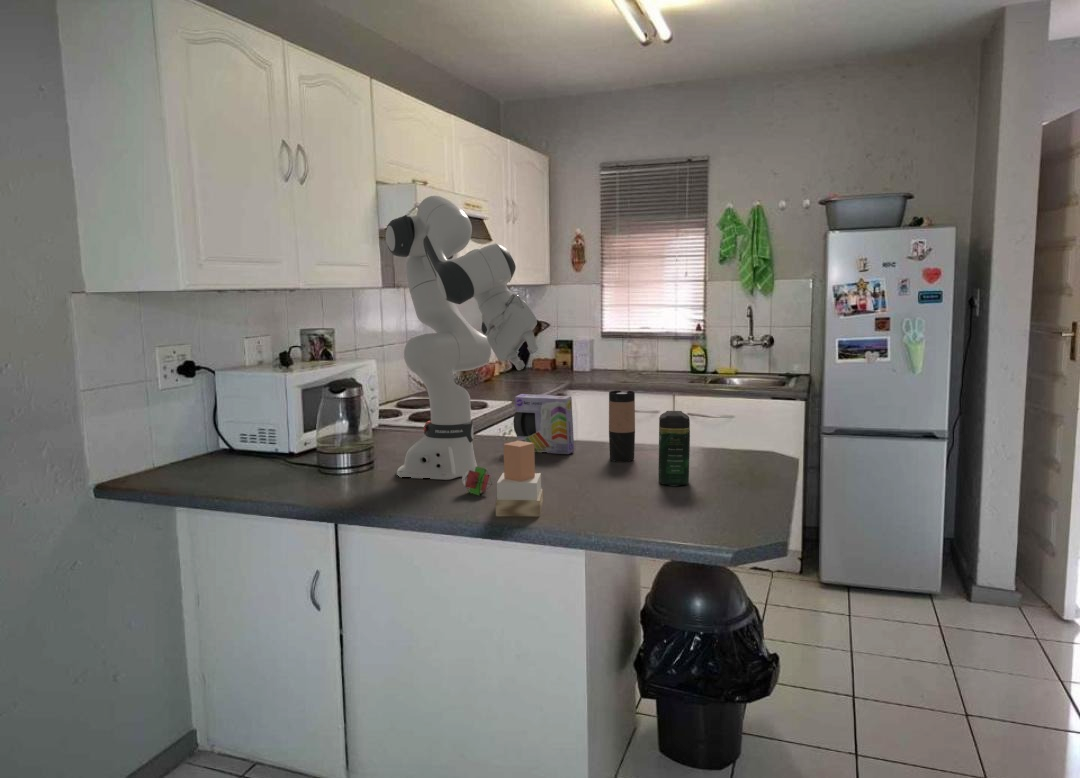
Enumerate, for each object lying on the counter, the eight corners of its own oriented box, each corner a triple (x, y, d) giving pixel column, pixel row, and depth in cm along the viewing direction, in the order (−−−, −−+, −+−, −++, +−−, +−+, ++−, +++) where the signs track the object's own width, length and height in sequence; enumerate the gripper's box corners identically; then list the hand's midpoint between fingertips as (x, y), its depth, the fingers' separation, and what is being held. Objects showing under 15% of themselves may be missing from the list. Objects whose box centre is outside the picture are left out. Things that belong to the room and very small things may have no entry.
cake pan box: (513, 450, 239) (511, 394, 236) (521, 447, 243) (520, 392, 240) (567, 456, 229) (567, 398, 227) (575, 452, 234) (574, 396, 231)
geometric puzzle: (485, 478, 196) (469, 457, 192) (502, 483, 191) (486, 461, 187) (468, 499, 193) (452, 478, 189) (485, 504, 188) (468, 483, 184)
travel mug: (618, 463, 219) (618, 394, 216) (604, 458, 226) (603, 391, 223) (640, 460, 223) (640, 392, 220) (625, 455, 229) (625, 389, 226)
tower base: (495, 517, 172) (495, 500, 171) (501, 504, 182) (500, 488, 181) (540, 518, 171) (539, 500, 170) (542, 505, 181) (542, 488, 180)
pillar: (504, 478, 175) (503, 444, 174) (518, 474, 178) (517, 440, 177) (520, 481, 172) (520, 446, 170) (534, 477, 175) (534, 443, 174)
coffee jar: (690, 487, 193) (691, 415, 190) (658, 486, 194) (658, 414, 191) (688, 477, 202) (689, 408, 199) (658, 477, 203) (658, 408, 201)
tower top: (497, 499, 172) (497, 482, 171) (503, 489, 180) (502, 472, 180) (536, 500, 171) (536, 483, 170) (540, 489, 180) (540, 473, 179)
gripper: (526, 286, 176) (554, 336, 174) (500, 326, 194) (525, 373, 191) (503, 294, 173) (531, 345, 171) (478, 334, 191) (504, 381, 188)
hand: (528, 360), depth 181 cm, fingers open, 8 cm apart
